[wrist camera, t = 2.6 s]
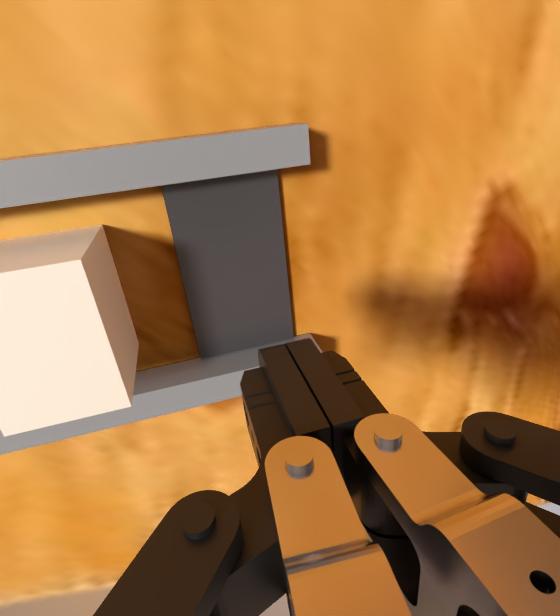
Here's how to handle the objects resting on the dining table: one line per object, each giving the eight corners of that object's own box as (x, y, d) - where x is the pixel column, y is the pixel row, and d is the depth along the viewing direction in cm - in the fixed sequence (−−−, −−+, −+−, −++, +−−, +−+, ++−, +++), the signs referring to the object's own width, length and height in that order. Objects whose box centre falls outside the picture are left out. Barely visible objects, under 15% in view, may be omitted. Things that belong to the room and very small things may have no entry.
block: (102, 223, 17) (80, 259, 13) (139, 342, 20) (131, 406, 15) (-13, 241, 16) (-79, 286, 12) (42, 363, 19) (4, 436, 14)
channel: (293, 123, 17) (307, 123, 15) (311, 355, 22) (323, 375, 21) (-270, 191, 14) (-335, 201, 12) (-88, 448, 19) (-114, 482, 17)
